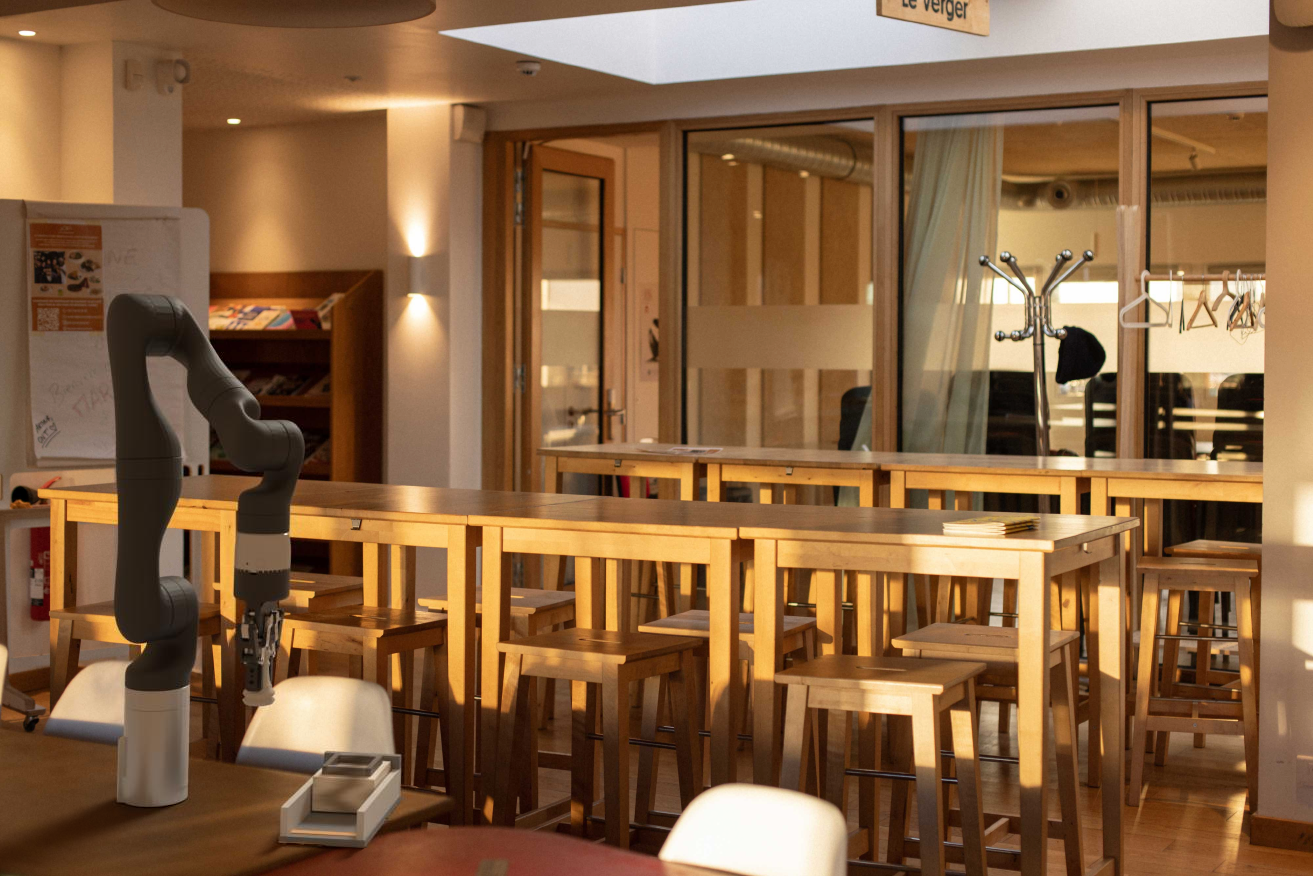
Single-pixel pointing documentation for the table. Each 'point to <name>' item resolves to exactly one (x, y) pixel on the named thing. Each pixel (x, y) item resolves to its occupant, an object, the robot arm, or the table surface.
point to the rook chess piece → (267, 692)
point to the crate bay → (341, 826)
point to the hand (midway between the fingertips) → (258, 687)
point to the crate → (347, 781)
